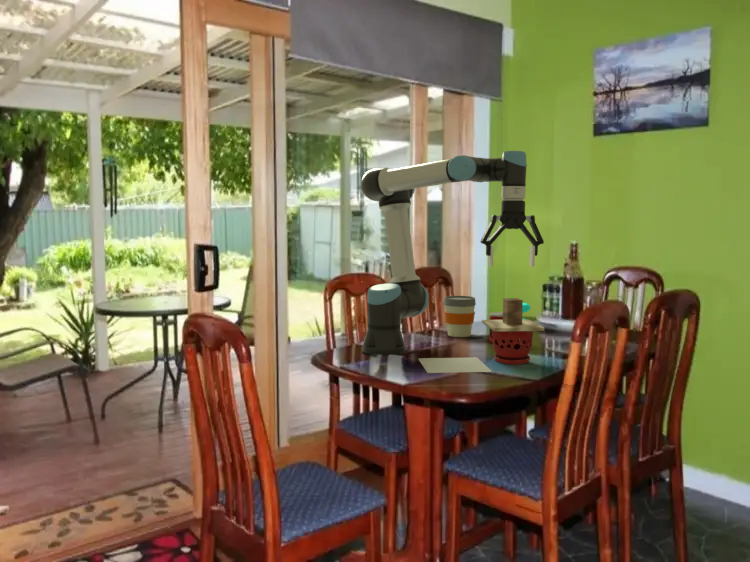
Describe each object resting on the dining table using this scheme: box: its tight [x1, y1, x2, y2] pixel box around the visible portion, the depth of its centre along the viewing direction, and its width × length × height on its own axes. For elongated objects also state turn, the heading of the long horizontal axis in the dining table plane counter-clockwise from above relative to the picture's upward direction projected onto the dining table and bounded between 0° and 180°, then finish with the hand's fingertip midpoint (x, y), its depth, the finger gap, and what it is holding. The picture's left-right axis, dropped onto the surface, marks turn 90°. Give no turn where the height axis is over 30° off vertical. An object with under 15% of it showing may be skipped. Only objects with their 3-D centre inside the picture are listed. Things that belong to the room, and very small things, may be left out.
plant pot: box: [492, 330, 534, 365], centre depth 222 cm, size 13×13×12 cm
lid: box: [481, 297, 545, 332], centre depth 221 cm, size 16×16×9 cm
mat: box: [417, 356, 493, 374], centre depth 217 cm, size 20×20×1 cm
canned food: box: [488, 311, 503, 344], centre depth 255 cm, size 8×8×11 cm
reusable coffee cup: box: [443, 295, 477, 338], centre depth 269 cm, size 13×13×15 cm
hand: (511, 266), depth 220 cm, fingers open, 13 cm apart
